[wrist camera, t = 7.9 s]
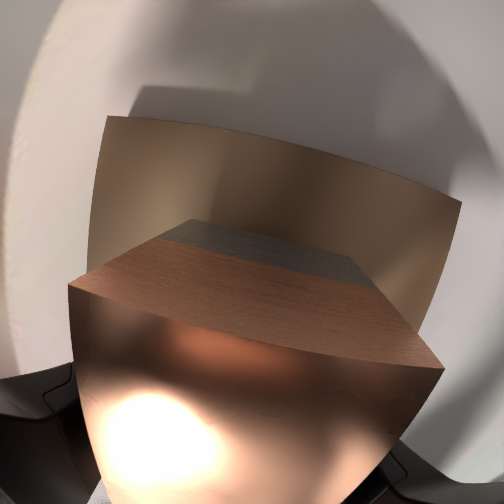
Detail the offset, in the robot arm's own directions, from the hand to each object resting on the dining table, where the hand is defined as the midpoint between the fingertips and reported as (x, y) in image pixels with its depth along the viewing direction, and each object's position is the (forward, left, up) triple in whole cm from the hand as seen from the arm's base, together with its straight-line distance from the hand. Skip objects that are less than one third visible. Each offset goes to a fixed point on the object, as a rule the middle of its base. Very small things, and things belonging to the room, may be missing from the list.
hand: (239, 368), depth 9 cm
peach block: (0, 0, -1) cm, 1 cm away
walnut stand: (0, 0, -4) cm, 4 cm away
